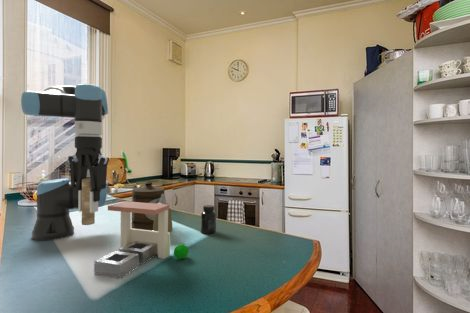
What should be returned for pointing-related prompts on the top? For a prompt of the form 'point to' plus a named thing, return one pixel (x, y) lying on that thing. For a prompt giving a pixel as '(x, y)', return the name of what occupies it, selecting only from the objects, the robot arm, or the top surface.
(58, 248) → the top surface
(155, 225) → the squeeze bottle
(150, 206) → the pink-topped stool
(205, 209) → the supplement bottle
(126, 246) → the inner socket
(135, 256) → the socket
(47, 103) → the robot arm
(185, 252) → the polyhedron
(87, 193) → the peg
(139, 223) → the wooden container
